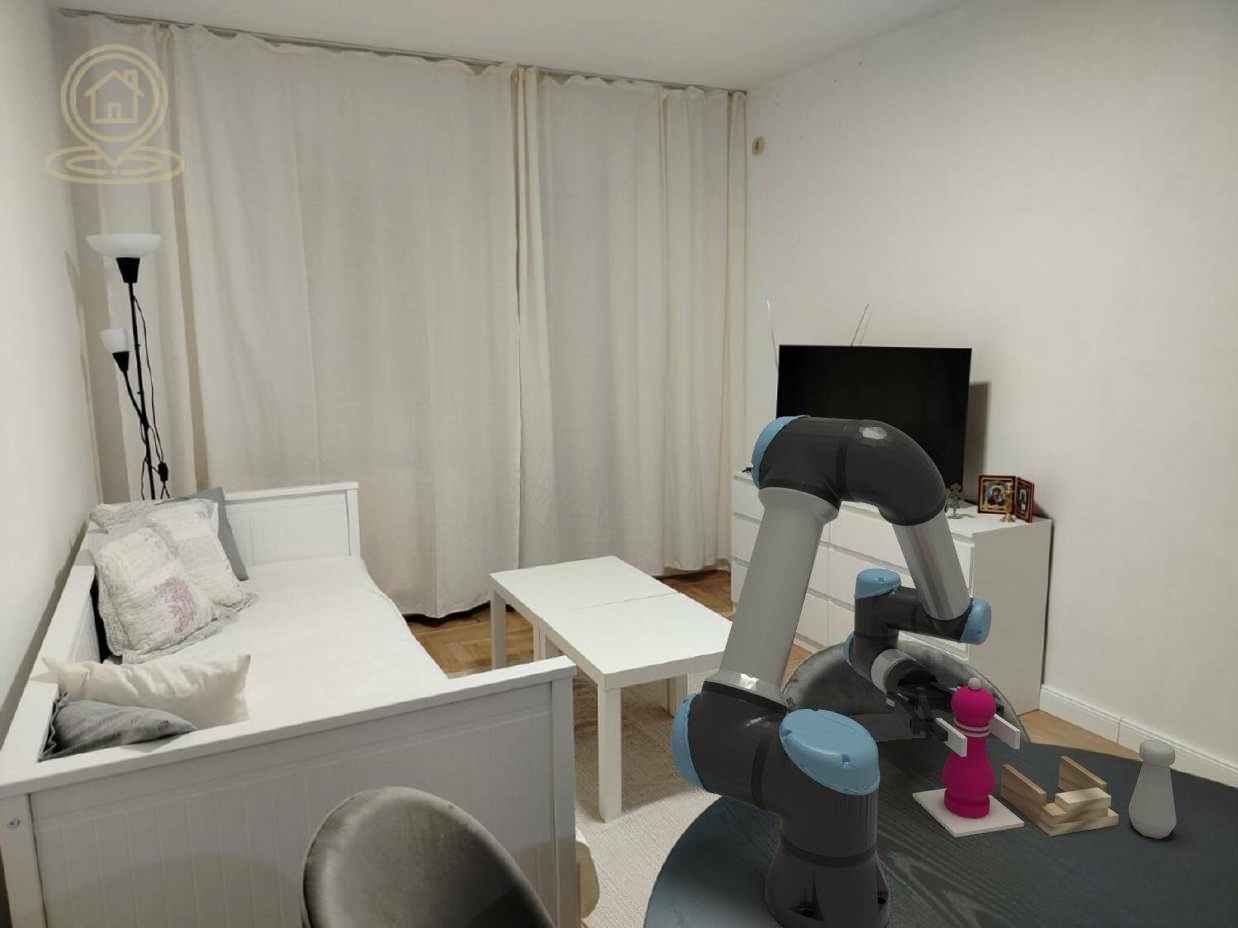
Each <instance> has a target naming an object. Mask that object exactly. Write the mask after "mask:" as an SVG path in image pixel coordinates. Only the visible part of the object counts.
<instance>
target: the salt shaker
mask: <svg viewBox="0 0 1238 928" xmlns="http://www.w3.org/2000/svg"><path fill="white" fill-rule="evenodd" d="M1138 748H1139V752H1138V753H1139V758H1140V759H1142V760H1143V761H1142V764H1141V768H1140V773H1139V775H1138V778H1137V782H1136V783H1135V787H1134V791H1133V793H1132V797H1131V799H1130V803H1129V805H1128V816H1129V818H1130V821H1131V824H1132V826H1133V830H1136V831H1137V832H1138V833H1139V834H1141V835H1142V836H1144V837H1148V838H1153V839H1157V840H1160V839H1163V838H1165V837H1168V836H1169V835H1170V834H1171V833H1172V831H1173V829H1174V828H1175V826H1176V825H1177V816H1176V815H1177V814H1176V807H1175V799H1174V790H1173V782H1172V775H1171V768H1170V766H1171V765H1173V764H1175V761H1176V751H1175V750H1176V749H1174V748H1173V747H1172V745H1170V744H1169V743H1166V742H1165V741H1162V740H1158V739H1146V740H1144V741H1142V742H1141V743H1140V744H1139V747H1138Z"/></svg>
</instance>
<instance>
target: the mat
mask: <svg viewBox="0 0 1238 928" xmlns="http://www.w3.org/2000/svg"><path fill="white" fill-rule="evenodd" d="M946 789H947V788H946V787H945V788H940V789H932V790H925V791H920V792H919V791H918V792H912V798H913V799H914V800H915V801H916V802H917V803H918V804H919V805H920V804H921V805H920V806H922V808H924V810H926V811H927V813H929V814H930V815H931V816H932V817H933V818H934V819H935V820H936V821H937V822H938V823H939V824H940V825H941V826H943V828H944V827H945V828H944V829H945V830H947V831H948V832H949V833H950V834H951V836H953V837H954V838H959V837H966V836H973V835H979V834H985V833H992V832H999V831H1003V830H1005V831H1006V830H1010V829H1016V828H1022V827H1023V828H1024V827H1025V822H1024V821H1023V820H1022V819H1021V818H1020V817H1018V816H1017V815H1016V814H1015V813H1013V812H1012V811H1011V810H1010V809H1009V808H1007V807H1006V805H1003V803H1001V802H1000V801H999V800H998V799H996V798H995V797H994V796H993V795H991V794H990V795H989V796H988V797H989V799H990V809H989V813H988V814H987V815H986V816H984V817H981V818H968V817H963V816H960V815H957V814H955V813H953V812H951V811H950V810H948V809H947V807H946V806H945V804H944V792H945V790H946Z"/></svg>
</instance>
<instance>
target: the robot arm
mask: <svg viewBox="0 0 1238 928" xmlns="http://www.w3.org/2000/svg"><path fill="white" fill-rule="evenodd" d="M750 462H751V464H752V465H753V466H752V468H751V469H750V472H751V474H750V475H751V478H752V482H753V484H754V485H755V488H756V489H758V493H757V498H758V499H759V501H760V503H761V504H762V507H763V508H764V511H763V513H762V518H761V521H760V525H759V528H758V531H757V535H756V539H755V542H754V546H753V550H752V553H751V556H750V559H749V563H748V567H747V571H746V574H745V577H744V581H743V584H742V587H741V591H740V594H739V597H738V602H737V606H736V609H735V613H734V616H733V620H732V623H731V627H730V631H729V634H728V636H727V641H726V644H725V647H724V650H723V654H722V657H721V661H720V664H719V668H718V670H717V671H716V672H715V673H714V674H712V675H710V676H707V677H706V678H704V680H703V683H702V686H701V689H700V692H694V693H690V694H688V695H686V696H685V697H684V699H682V703H680V704H679V706H678V708H677V709H676V713H675V714H674V717H673V722H672V728H671V734H670V749H671V756H672V759H673V761H674V767H675V769H676V771H677V773H678V774H679V776H680V777H681V779H683V780H684V781H686V782H687V783H689V784H691V785H692V786H696V787H697V788H701V789H703V791H705V792H707V793H709V794H713V795H718V796H719V797H720V796H721V797H724V798H727V799H730V800H732V801H735V802H737V803H739V804H740V803H741V804H744V805H746V806H748V807H752V808H755V809H758V810H761V811H764V812H767V813H770V814H772V815H774V816H777V817H778V818H779V841H778V844H777V847H776V848H775V851H774V854H773V856H772V859H771V863H770V865H769V868H768V870H767V873H766V876H765V885H764V886H765V888H764V889H765V891H764V896H765V904H766V906H767V908H768V910H769V912H770V914H771V916H773V918H774V919H775V920H776V921H777V922H778V923H779V924H780V925H782V926H783V927H784V928H885V927H886V925H887V923H888V921H889V918H890V913H891V911H890V910H891V894H890V889H889V886H888V882H887V878H886V876H885V873H884V870H883V866H882V863H881V861H880V860H881V859H880V858H879V854H878V851H877V841H878V816H879V815H878V814H879V813H878V812H879V790H880V789H879V788H880V787H879V786H880V781H881V770H880V768H879V767H880V766H879V764H880V763H879V751H878V750H879V748H878V745H877V744H876V743H877V742H876V741H875V740H874V738H873V737H872V735H871V734H870V732H869V731H868V730H867V729H866V727H864V726H863V725H862V724H860V723H859V722H857V721H855V720H854V719H853V718H850V717H848V716H845V715H842V714H841V713H840V714H839V713H838V712H837V713H836V712H835V711H830V710H825V709H818V710H817V711H816V710H813V709H811V708H804V709H803V708H802V709H797V710H794V711H792V712H790V713H788V710H789V704H788V702H787V700H786V698H785V696H784V695H783V692H782V686H783V683H784V680H785V676H786V675H785V674H786V671H787V668H788V664H789V660H790V656H791V652H792V649H793V645H794V641H795V637H796V633H797V630H798V626H799V622H800V618H801V615H802V611H803V607H804V603H805V599H806V595H807V591H808V587H809V584H810V580H811V577H812V573H813V569H814V565H815V560H816V557H817V553H818V550H819V546H820V542H821V538H822V535H823V531H824V527H825V525H827V524H829V523H831V522H832V521H835V520H837V519H838V517H839V513H840V509H841V505H842V503H843V502H845V503H847V502H849V503H858V504H859V503H861V504H867V505H870V506H874V507H875V508H877V510H878V512H879V514H880V515H881V518H882V519H883V520H885V521H886V522H887V523H889V524H891V525H892V529H893V532H894V534H895V537H896V538H897V539H896V540H897V543H898V546H899V547H900V550H901V553H902V556H903V558H904V561H905V563H906V566H907V569H908V572H909V574H910V577H911V579H912V582H913V585H914V587H909V586H903V585H902V580H901V575H900V574H899V573H898V572H896V571H893V570H890V569H886V568H876V567H875V568H867V569H864V570H862V571H860V572H859V573H857V575H856V577H855V578H856V579H855V587H854V588H855V589H854V595H853V599H854V605H853V606H854V613H853V614H854V617H853V619H854V620H853V624H854V625H853V626H854V627H853V629H854V630H853V631H851V633H850V634H849V635H848V636H846V637H847V638H846V640H845V642H844V643H843V649H842V650H843V651H842V652H843V656H844V659H845V661H846V662H847V663H848V665H849V666H850V667H852V669H853V670H854V671H855V672H856V673H857V674H858V675H860V676H861V677H863V678H865V679H866V680H868V681H869V682H870V683H872V685H874V686H875V687H876V688H878V689H879V690H880V691H882V692H883V693H884V694H885V695H886V696H885V698H886V700H885V707H886V709H888V710H890V711H891V712H893V713H894V714H895V715H896V716H897V717H898V718H899V720H900V721H901V722H902V723H903V725H904V726H905V727H906V728H907V729H908V730H909V732H910V733H911V734H913V735H921V732H922V733H923V732H924V739H925V740H928V741H932V740H934V738H935V739H936V740H937V741H938V742H940V743H944V744H945V746H947V747H949V748H950V750H951V751H952V750H954V751H955V752H956V753H957V754H959V755H960V756H961V757H964V756H966V753H967V737H965V736H964V735H963V734H961V733H960V732H959V731H957V730H956V729H955V728H954V727H953V725H951V724H950V723H948V722H947V721H946V720H944V719H943V718H942V717H936V718H934V715H933V712H932V711H933V710H939V711H942V712H944V713H947V714H954V712H953V710H952V708H951V700H952V696H953V694H954V693H955V692H956V691H957V690H958V689H959V688H961V687H965V686H967V685H966V684H965V683H962V682H958V683H957V687H949V686H948V685H946V684H943V683H940V682H939V680H938V679H937V676H935V674H934V672H933V671H932V670H930V669H929V668H928V667H927V666H925V665H924V664H922V663H920V661H918V660H916V659H915V658H914V657H913V656H911V655H909V654H907V652H904V651H903V650H902V649H901V648H899V636H900V631H901V632H905V633H910V634H915V635H922V636H926V637H932V638H935V639H939V640H944V641H949V642H954V643H957V644H966V645H972V646H973V645H974V646H980V645H982V644H984V643H985V642H986V640H987V639H988V636H989V634H990V630H991V625H992V608H991V604H990V603H989V602H988V601H986V599H981V598H977V597H976V596H974V597H971V595H970V593H969V592H970V591H969V589H968V586H967V583H966V579H965V576H964V573H963V569H962V566H961V563H960V559H959V556H958V552H957V549H956V546H955V541H954V539H953V536H952V533H951V529H950V526H949V522H948V519H947V515H946V511H945V507H946V505H947V502H948V491H947V488H946V485H945V481H944V478H943V476H942V473H941V472H940V471H939V469H938V467H937V465H936V464H935V462H934V461H933V460H932V458H931V457H930V455H928V453H927V452H926V451H925V450H924V449H923V447H922V446H920V445H919V444H918V443H917V442H916V441H915V440H914V439H913V438H912V437H910V436H909V435H908V434H906V433H905V432H903V431H901V430H900V429H898V428H897V427H894V425H891V424H888V423H886V422H883V421H880V420H874V419H851V418H850V419H849V418H847V419H846V418H837V417H836V418H834V417H832V418H831V417H817V416H816V417H815V416H813V417H812V416H810V415H805V414H802V415H796V416H780V417H778V418H776V419H774V420H772V421H770V422H769V423H768V424H767V425H766V426H765V427H764V428H763V429H762V431H761V432H760V434H759V436H758V437H757V440H756V442H755V445H754V447H753V450H752V456H751V461H750ZM995 705H996V712H995V715H994V717H993V718H992V719H991V720H990V721H989V722H990V723H991V727H990V734H991V733H992V734H993V735H994V736H995V737H997V738H999V740H1001V741H1003V742H1004V743H1005V744H1007V745H1008V746H1009V747H1010V748H1012V749H1013V750H1019V749H1020V746H1021V730H1020V729H1018V728H1017V727H1015V725H1013V724H1012V723H1011V722H1010V720H1009V721H1008V720H1007V719H1006V718H1005V706H1004V705H1002V704H1000V703H998V702H996V701H995Z"/></svg>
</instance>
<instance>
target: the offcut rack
mask: <svg viewBox="0 0 1238 928" xmlns="http://www.w3.org/2000/svg"><path fill="white" fill-rule="evenodd" d="M1058 768H1059V769H1058V785H1057V787H1058V788H1060V790H1062V791H1063V792H1060V793H1055V795H1054V802H1051V803H1047V794H1048V793H1047V792H1046V791H1045V790H1044V789H1042V788H1041V787H1039V786H1038V785H1037V784H1036V783H1034V782H1033V781H1031V779H1029V778H1028V777H1027V776H1024V774H1022V773H1021V772H1019V770H1017V769H1015V768H1014V767H1013V766H1012V765H1010V764H1009V763H1006V764H1002V765H1001V788H1000V796H1001V797H1002V798H1003V799H1004V800H1005V801H1007V802H1008V803H1009V804H1011V806H1013V807H1014V808H1015V809H1016V810H1018V811H1019V812H1021V814H1023V815H1024V816H1025V817H1027V818H1028V819H1029V820H1030V821H1031V822H1033V823H1034V824H1035V825H1036V826H1037V827H1039V828H1040V829H1041V830H1042V831H1044V832H1045V833H1046V834H1047V835H1049V837H1053V836H1059V835H1066V834H1071V833H1072V834H1073V833H1077V832H1083V831H1089V830H1094V829H1095V830H1096V829H1101V828H1102V829H1103V828H1109V827H1112V826H1119V820H1120V819H1119V818H1120V815H1119V814H1118V813H1116V812H1115V811H1114V810H1112V809H1111V808H1110V807H1111V805H1112V796H1111V795H1110V794H1108V792H1107V791H1108V783H1107V782H1106V781H1104V780H1103V779H1102V778H1100V777H1098V776H1097V775H1095V774H1093V773H1092V772H1090V771H1089V770H1088V769H1086V768H1085V767H1083V766H1082V765H1080V763H1079V764H1078V763H1077V762H1076V761H1075V760H1073V759H1071V757H1069V756H1067V755H1063V756H1059V766H1058Z"/></svg>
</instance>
